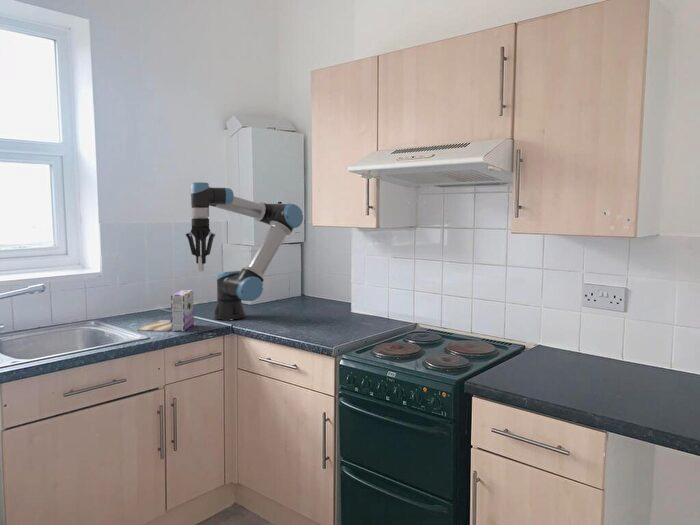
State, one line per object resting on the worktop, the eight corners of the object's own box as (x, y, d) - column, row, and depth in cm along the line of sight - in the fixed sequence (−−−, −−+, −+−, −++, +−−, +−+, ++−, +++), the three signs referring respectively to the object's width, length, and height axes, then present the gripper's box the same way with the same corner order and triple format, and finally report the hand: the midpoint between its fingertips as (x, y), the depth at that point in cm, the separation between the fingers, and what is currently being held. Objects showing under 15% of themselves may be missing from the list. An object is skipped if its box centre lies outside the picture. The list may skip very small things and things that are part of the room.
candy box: (181, 324, 258) (180, 289, 257) (194, 325, 258) (193, 289, 256) (171, 331, 244) (170, 294, 243) (184, 331, 244) (183, 294, 243)
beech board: (182, 324, 260) (182, 322, 260) (167, 331, 244) (167, 330, 244) (153, 323, 261) (153, 321, 261) (137, 330, 245) (137, 329, 245)
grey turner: (192, 321, 265) (192, 319, 265) (189, 323, 261) (189, 321, 261) (160, 320, 267) (160, 318, 267) (157, 322, 263) (156, 320, 263)
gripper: (217, 217, 248) (218, 270, 251) (189, 217, 250) (190, 269, 252) (211, 218, 241) (212, 272, 243) (182, 217, 242) (183, 271, 245)
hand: (201, 270), depth 248 cm, fingers closed
